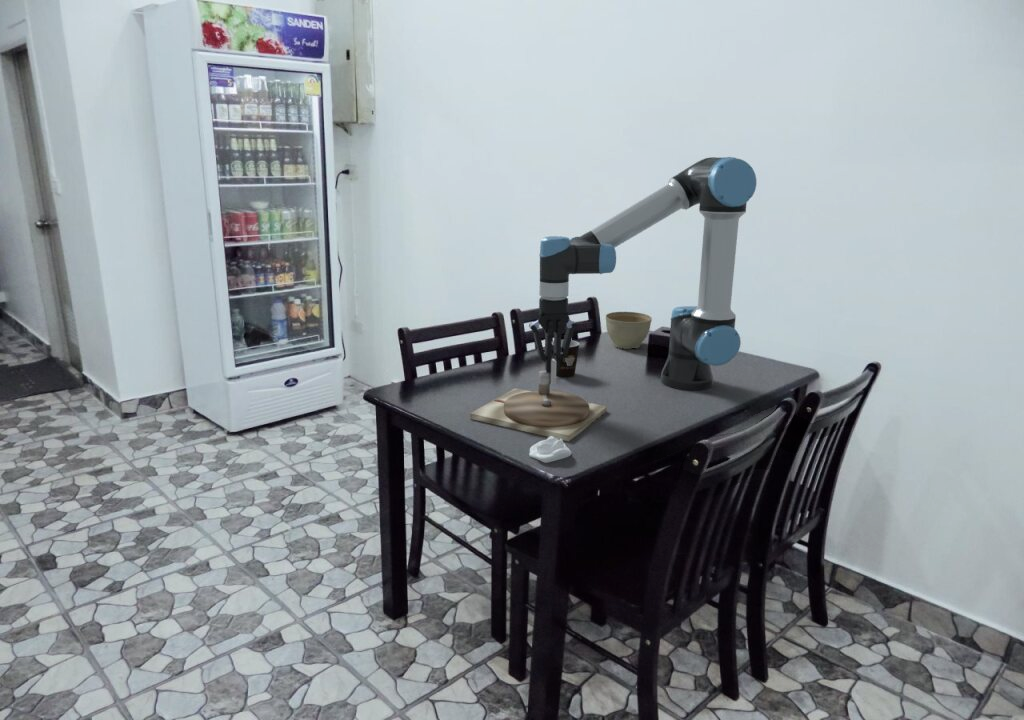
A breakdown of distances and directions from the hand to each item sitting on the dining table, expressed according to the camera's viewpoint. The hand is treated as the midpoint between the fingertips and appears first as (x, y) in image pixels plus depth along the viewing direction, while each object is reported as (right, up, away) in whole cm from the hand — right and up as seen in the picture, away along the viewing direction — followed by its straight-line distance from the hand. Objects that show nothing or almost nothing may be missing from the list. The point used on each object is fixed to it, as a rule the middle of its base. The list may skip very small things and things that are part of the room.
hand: (552, 383), depth 183 cm
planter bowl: (+30, +11, +59) cm, 68 cm away
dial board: (-4, -8, -6) cm, 11 cm away
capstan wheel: (-2, -7, -7) cm, 10 cm away
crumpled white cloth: (-2, -16, -29) cm, 33 cm away
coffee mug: (+4, +2, +27) cm, 28 cm away
